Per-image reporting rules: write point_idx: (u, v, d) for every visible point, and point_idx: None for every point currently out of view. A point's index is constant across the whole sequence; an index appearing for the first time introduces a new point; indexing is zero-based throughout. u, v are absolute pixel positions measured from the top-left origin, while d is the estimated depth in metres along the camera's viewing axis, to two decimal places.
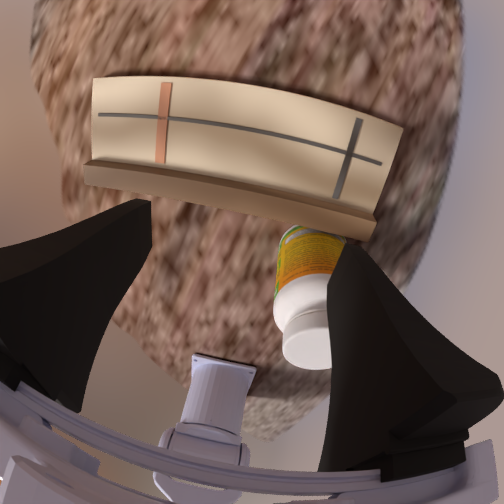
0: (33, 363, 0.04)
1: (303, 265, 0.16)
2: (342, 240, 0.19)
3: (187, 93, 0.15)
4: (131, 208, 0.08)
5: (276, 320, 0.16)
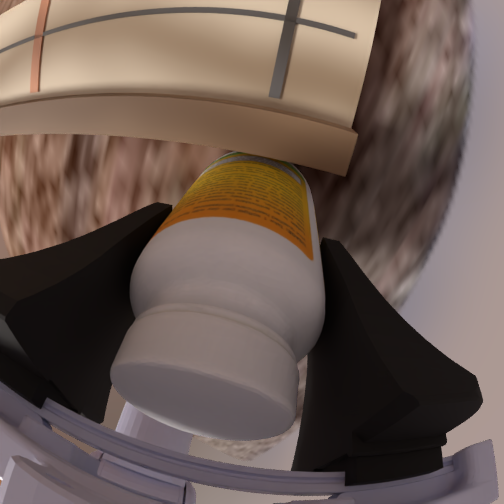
0: (60, 378, 0.04)
1: (185, 206, 0.07)
2: (296, 177, 0.10)
3: None
4: (153, 212, 0.08)
5: None
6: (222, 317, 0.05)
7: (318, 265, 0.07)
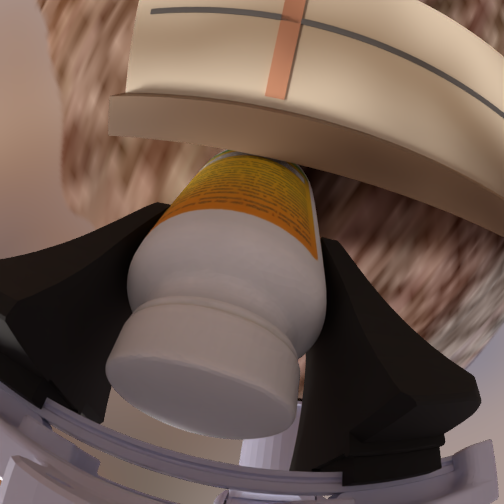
0: (60, 378, 0.04)
1: (190, 197, 0.07)
2: (300, 176, 0.10)
3: None
4: (153, 212, 0.08)
5: None
6: (228, 313, 0.05)
7: (321, 265, 0.07)
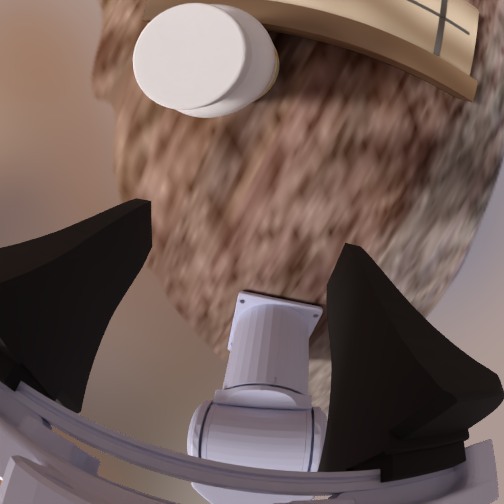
0: (33, 363, 0.04)
1: None
2: None
3: None
4: (131, 208, 0.08)
5: None
6: None
7: None
